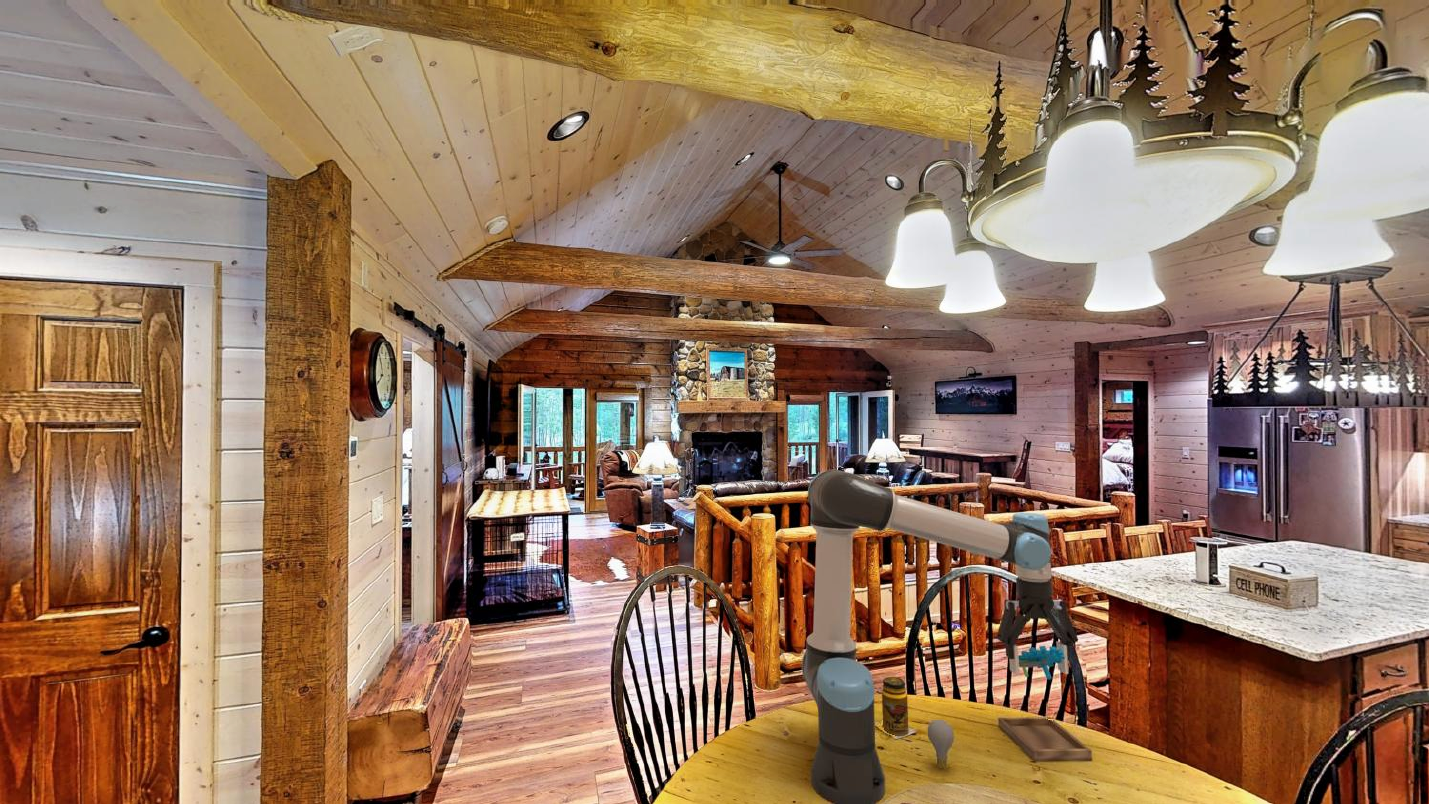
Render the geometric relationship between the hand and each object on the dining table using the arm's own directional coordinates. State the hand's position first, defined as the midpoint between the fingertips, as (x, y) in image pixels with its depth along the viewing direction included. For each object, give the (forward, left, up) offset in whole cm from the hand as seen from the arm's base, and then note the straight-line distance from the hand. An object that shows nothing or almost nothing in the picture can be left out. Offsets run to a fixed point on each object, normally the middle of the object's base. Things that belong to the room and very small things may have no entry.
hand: (1038, 672), depth 131 cm
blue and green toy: (0, 0, 0) cm, 0 cm away
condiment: (-33, +8, -17) cm, 38 cm away
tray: (0, 0, -16) cm, 16 cm away
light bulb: (-28, -9, -16) cm, 34 cm away
